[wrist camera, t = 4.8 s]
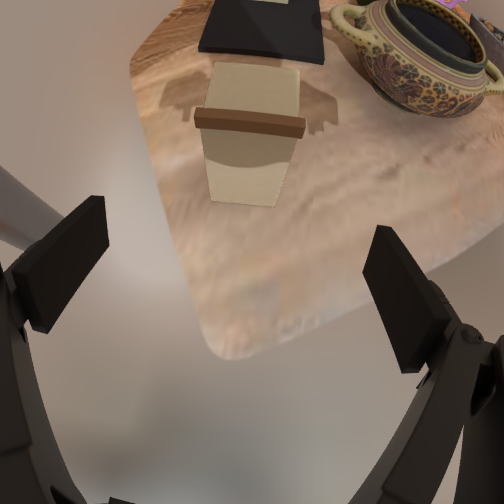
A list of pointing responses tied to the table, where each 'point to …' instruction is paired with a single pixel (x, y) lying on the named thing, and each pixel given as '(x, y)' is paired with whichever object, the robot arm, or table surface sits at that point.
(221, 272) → the table surface
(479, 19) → the planter
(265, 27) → the base
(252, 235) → the table surface
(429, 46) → the ceramic bowl
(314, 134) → the table surface
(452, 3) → the teapot
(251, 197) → the cream rectangular block
